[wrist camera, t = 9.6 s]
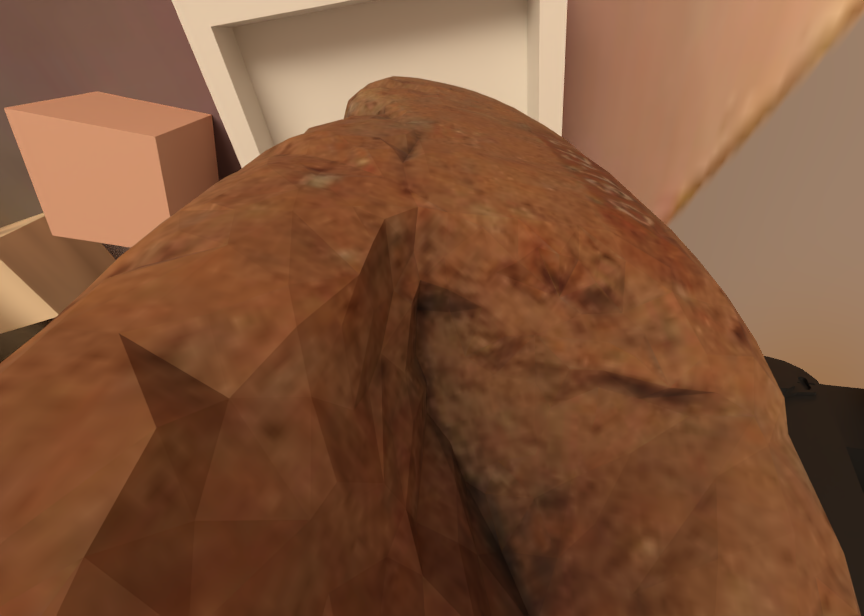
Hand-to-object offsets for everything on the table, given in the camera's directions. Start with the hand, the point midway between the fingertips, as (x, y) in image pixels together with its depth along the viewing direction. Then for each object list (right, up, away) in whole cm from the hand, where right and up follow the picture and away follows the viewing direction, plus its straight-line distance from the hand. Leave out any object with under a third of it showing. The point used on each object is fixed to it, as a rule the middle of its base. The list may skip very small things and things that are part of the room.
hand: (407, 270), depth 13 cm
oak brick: (-22, +2, +10) cm, 24 cm away
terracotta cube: (-13, +6, +7) cm, 16 cm away
